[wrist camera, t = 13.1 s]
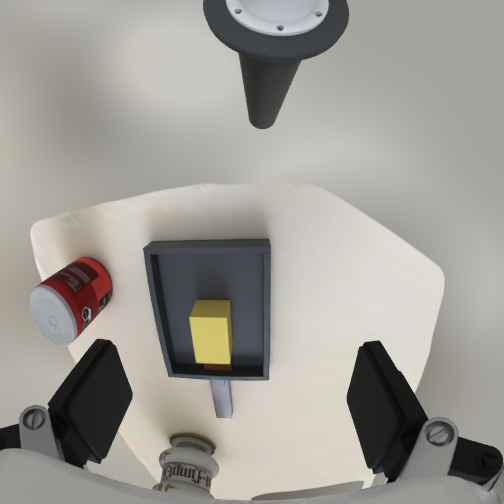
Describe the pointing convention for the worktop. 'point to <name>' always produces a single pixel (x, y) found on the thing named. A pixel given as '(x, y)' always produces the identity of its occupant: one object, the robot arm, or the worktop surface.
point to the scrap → (218, 366)
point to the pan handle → (222, 398)
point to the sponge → (212, 331)
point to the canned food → (70, 300)
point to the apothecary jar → (188, 466)
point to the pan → (212, 288)
